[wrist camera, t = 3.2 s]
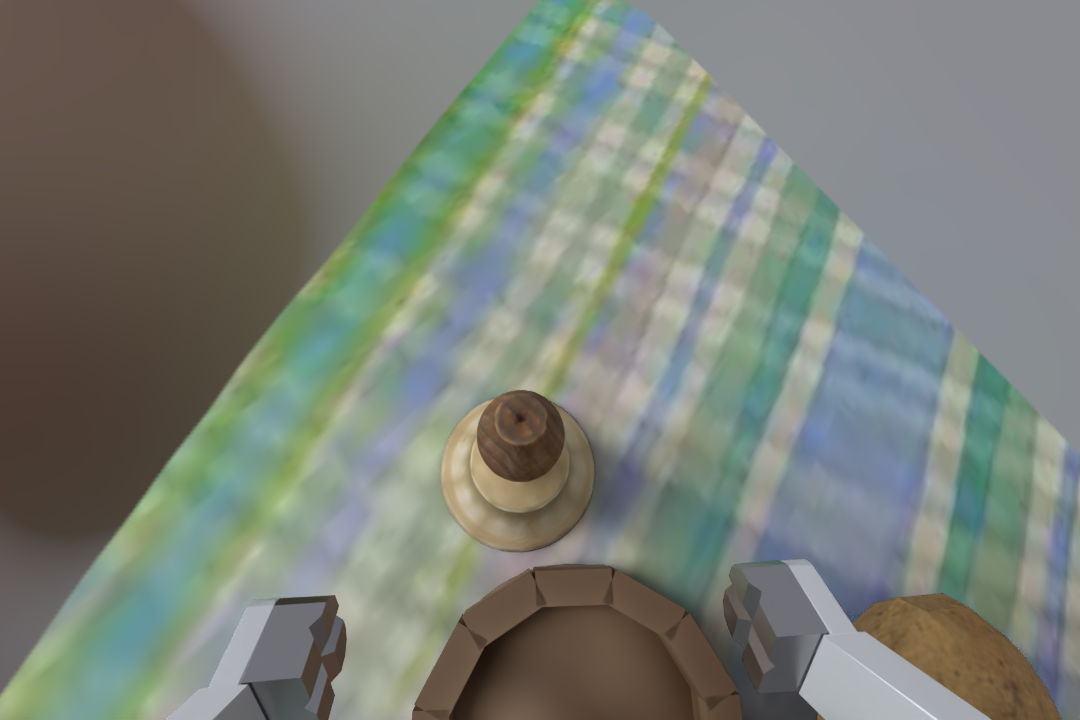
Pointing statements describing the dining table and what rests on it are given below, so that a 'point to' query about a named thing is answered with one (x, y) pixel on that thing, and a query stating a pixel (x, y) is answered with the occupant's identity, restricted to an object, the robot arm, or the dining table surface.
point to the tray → (577, 655)
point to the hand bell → (517, 472)
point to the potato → (960, 655)
